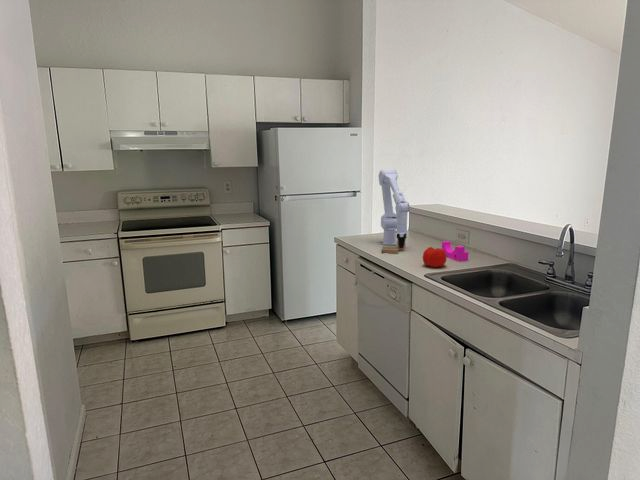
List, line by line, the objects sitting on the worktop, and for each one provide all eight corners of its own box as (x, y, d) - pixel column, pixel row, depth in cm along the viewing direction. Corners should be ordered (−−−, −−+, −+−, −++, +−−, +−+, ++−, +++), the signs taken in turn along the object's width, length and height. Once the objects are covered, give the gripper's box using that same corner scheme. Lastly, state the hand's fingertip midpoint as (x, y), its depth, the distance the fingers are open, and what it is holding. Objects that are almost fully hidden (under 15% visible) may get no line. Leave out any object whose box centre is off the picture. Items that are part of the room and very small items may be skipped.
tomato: (450, 267, 219) (451, 249, 217) (429, 269, 215) (430, 251, 213) (437, 262, 229) (438, 245, 227) (417, 264, 225) (418, 247, 223)
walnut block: (382, 251, 256) (382, 245, 255) (398, 251, 254) (398, 246, 254) (381, 254, 247) (381, 249, 247) (398, 255, 246) (398, 250, 245)
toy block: (467, 260, 232) (468, 246, 231) (457, 261, 231) (458, 247, 229) (451, 254, 246) (452, 240, 245) (441, 255, 245) (442, 241, 243)
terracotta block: (397, 248, 260) (397, 240, 259) (405, 248, 259) (405, 240, 258) (397, 250, 256) (397, 241, 255) (405, 250, 255) (405, 242, 254)
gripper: (395, 221, 262) (394, 244, 265) (394, 225, 248) (394, 249, 251) (407, 221, 261) (406, 244, 264) (407, 225, 247) (406, 249, 250)
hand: (401, 246), depth 257 cm, fingers closed on terracotta block, 4 cm apart
